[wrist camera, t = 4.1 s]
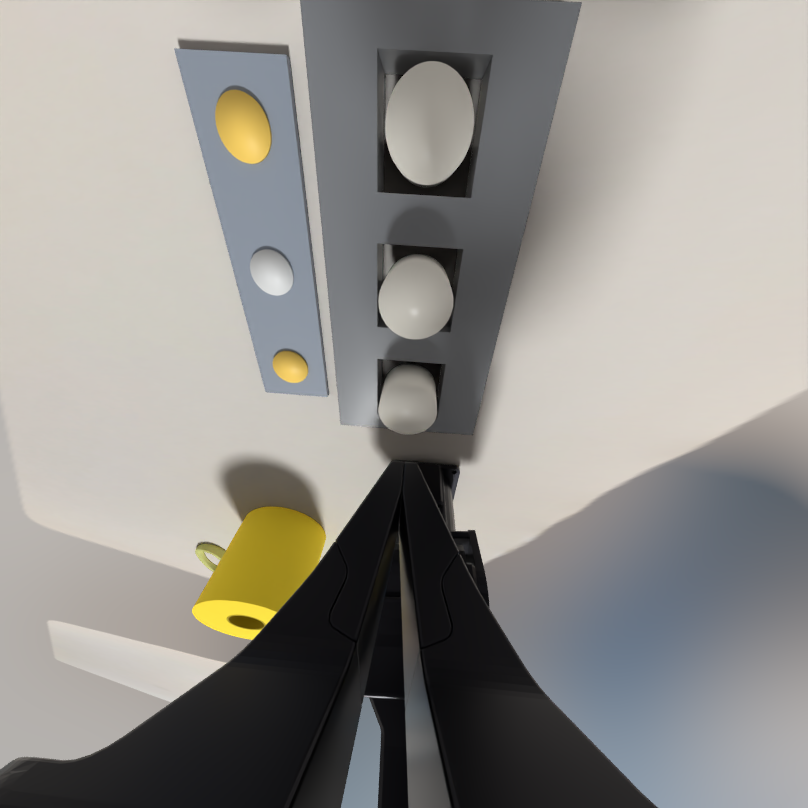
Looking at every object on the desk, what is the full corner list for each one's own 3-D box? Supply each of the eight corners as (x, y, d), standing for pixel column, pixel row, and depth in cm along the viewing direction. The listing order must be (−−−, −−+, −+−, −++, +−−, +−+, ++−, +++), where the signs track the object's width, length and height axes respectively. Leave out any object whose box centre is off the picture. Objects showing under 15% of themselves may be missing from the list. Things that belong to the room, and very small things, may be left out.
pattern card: (328, 394, 23) (326, 398, 23) (267, 389, 23) (264, 393, 23) (289, 58, 13) (284, 52, 12) (180, 52, 13) (170, 46, 12)
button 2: (432, 409, 21) (433, 436, 18) (383, 405, 21) (378, 432, 18) (438, 365, 19) (440, 389, 16) (384, 361, 19) (378, 384, 16)
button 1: (458, 189, 15) (465, 186, 13) (391, 185, 15) (384, 181, 13) (471, 91, 13) (482, 63, 10) (393, 86, 13) (385, 58, 11)
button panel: (468, 415, 23) (472, 435, 21) (348, 405, 24) (340, 424, 22) (554, 37, 12) (581, 2, 10) (320, 25, 12) (298, -12, 10)
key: (289, 561, 40) (283, 577, 39) (219, 568, 43) (210, 583, 41) (262, 533, 37) (253, 549, 35) (186, 542, 39) (175, 558, 38)
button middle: (444, 322, 17) (447, 342, 15) (385, 318, 17) (378, 336, 15) (453, 255, 15) (459, 265, 13) (386, 251, 15) (378, 259, 13)
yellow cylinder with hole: (283, 496, 31) (236, 591, 23) (342, 540, 36) (319, 633, 28) (227, 521, 35) (171, 611, 27) (287, 559, 39) (253, 645, 32)
